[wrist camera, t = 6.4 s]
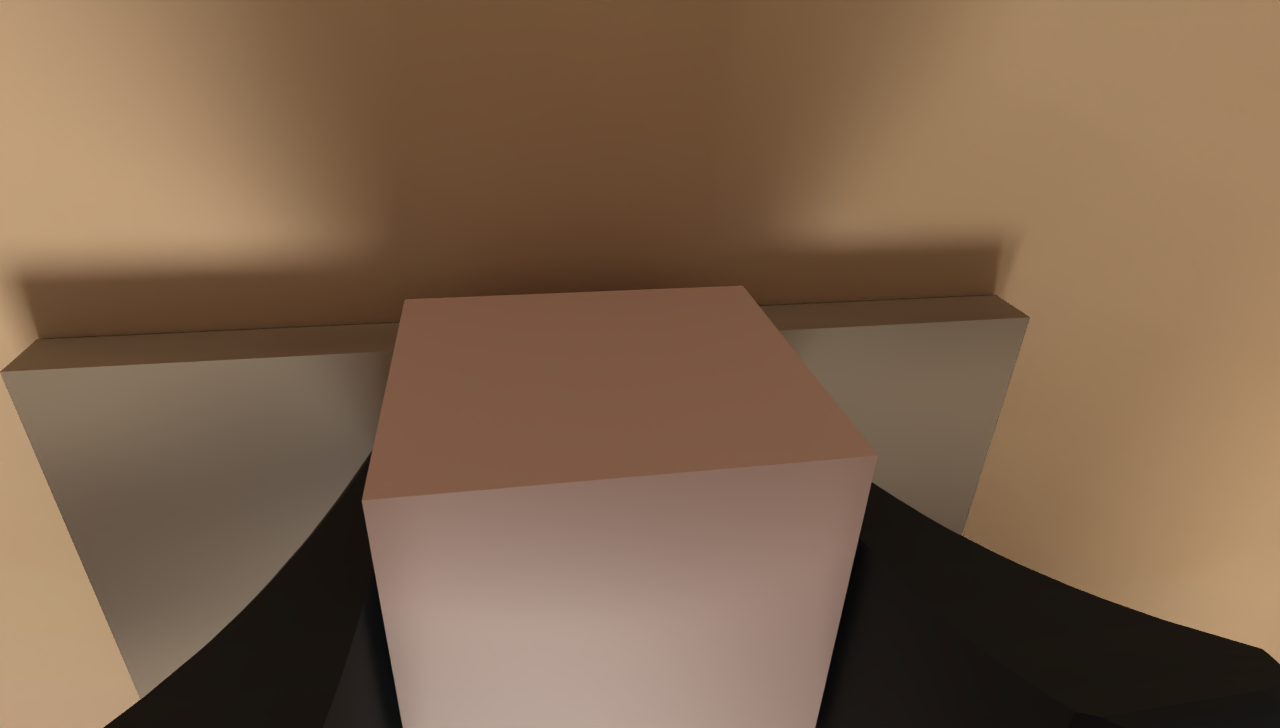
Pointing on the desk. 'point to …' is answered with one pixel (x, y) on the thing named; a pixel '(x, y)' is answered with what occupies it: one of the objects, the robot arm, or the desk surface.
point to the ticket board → (346, 428)
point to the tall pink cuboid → (610, 513)
